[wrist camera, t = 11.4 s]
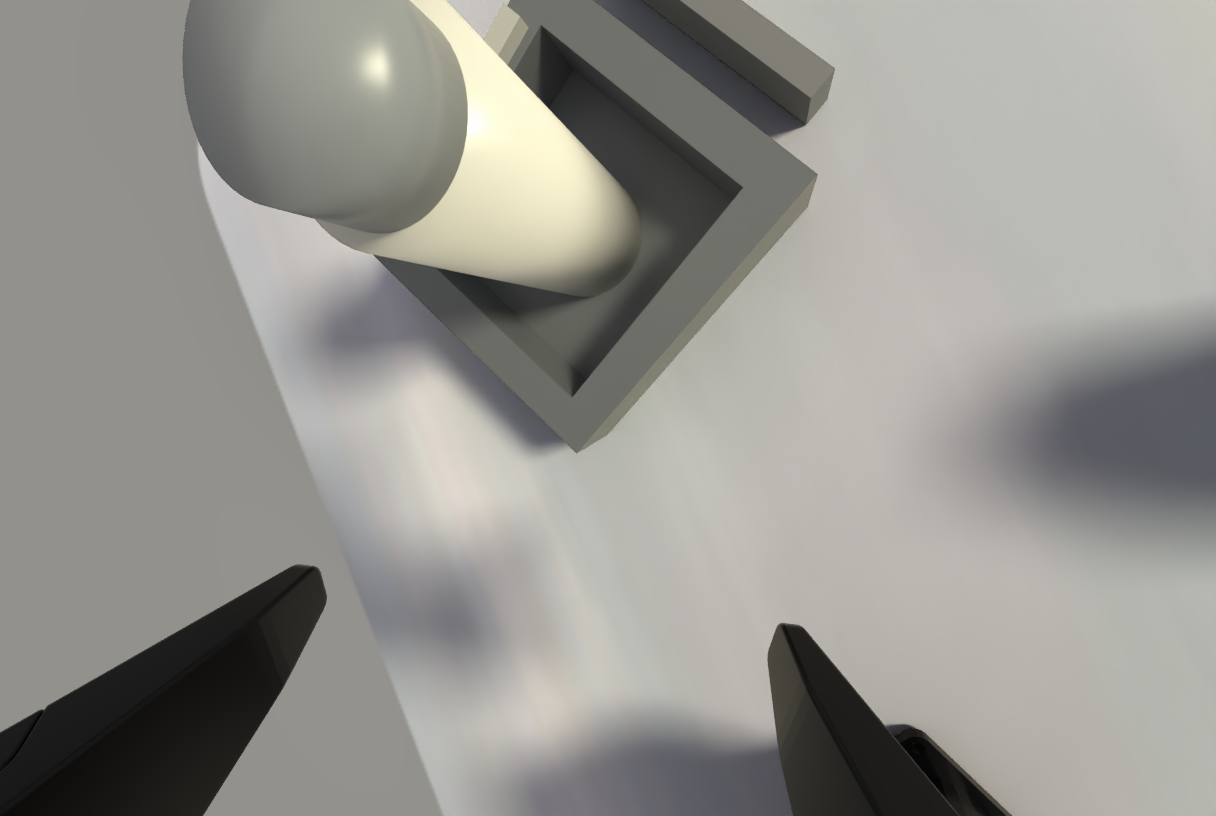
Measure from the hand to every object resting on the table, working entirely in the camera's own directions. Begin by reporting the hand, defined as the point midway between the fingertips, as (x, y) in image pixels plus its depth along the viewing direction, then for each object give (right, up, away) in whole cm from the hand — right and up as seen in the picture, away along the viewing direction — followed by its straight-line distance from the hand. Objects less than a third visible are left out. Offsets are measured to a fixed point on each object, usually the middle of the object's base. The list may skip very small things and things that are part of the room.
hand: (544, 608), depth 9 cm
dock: (+1, +11, +11) cm, 16 cm away
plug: (0, +11, +10) cm, 15 cm away
